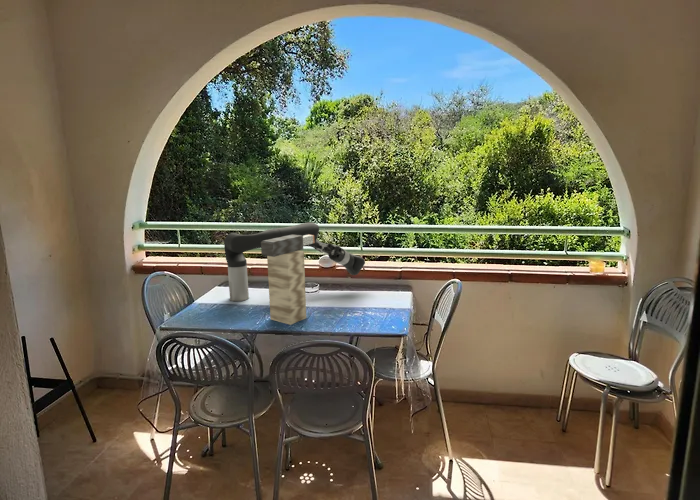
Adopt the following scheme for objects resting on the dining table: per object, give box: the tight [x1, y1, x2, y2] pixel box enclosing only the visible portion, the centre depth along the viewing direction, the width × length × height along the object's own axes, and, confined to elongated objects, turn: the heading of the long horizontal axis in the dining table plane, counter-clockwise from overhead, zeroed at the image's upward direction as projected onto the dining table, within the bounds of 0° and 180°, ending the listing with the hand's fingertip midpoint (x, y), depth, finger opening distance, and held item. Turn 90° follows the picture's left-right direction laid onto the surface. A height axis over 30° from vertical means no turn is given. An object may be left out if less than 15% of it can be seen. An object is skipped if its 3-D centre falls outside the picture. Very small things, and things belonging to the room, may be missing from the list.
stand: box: [260, 235, 307, 326], centre depth 193 cm, size 19×12×36 cm, turn 144°
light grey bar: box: [303, 235, 315, 247], centre depth 195 cm, size 24×4×4 cm, turn 144°
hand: (320, 244), depth 213 cm, fingers open, 8 cm apart
